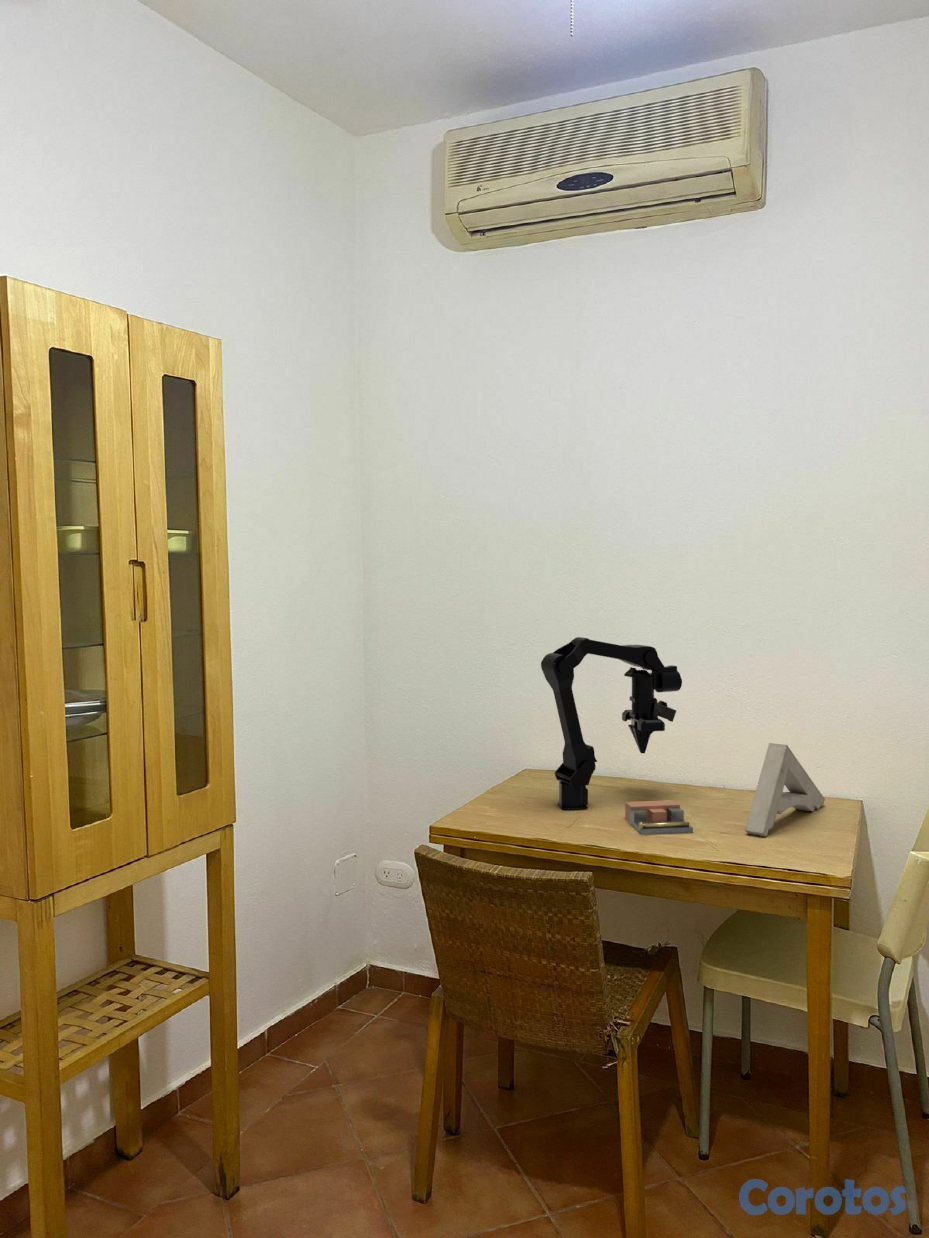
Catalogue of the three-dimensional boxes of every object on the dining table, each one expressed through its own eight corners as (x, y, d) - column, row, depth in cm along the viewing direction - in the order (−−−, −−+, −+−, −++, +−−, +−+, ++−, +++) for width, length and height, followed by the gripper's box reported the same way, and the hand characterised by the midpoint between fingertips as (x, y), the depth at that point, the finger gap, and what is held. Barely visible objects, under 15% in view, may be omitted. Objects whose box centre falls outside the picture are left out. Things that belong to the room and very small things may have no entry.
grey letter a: (804, 882, 240) (763, 833, 221) (786, 878, 243) (744, 830, 224) (824, 798, 249) (787, 745, 229) (807, 796, 252) (769, 742, 232)
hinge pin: (640, 829, 225) (640, 823, 225) (638, 828, 227) (638, 821, 226) (689, 828, 226) (689, 821, 226) (687, 826, 228) (687, 819, 228)
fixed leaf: (641, 834, 224) (641, 819, 224) (629, 823, 234) (629, 808, 234) (692, 832, 226) (692, 817, 226) (678, 821, 235) (678, 806, 235)
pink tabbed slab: (634, 826, 231) (634, 809, 231) (625, 818, 239) (625, 801, 239) (684, 824, 233) (684, 807, 233) (673, 816, 241) (673, 800, 240)
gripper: (684, 697, 248) (684, 759, 249) (661, 688, 267) (661, 745, 268) (641, 698, 247) (641, 760, 248) (621, 689, 265) (621, 746, 266)
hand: (642, 752), depth 258 cm, fingers closed
